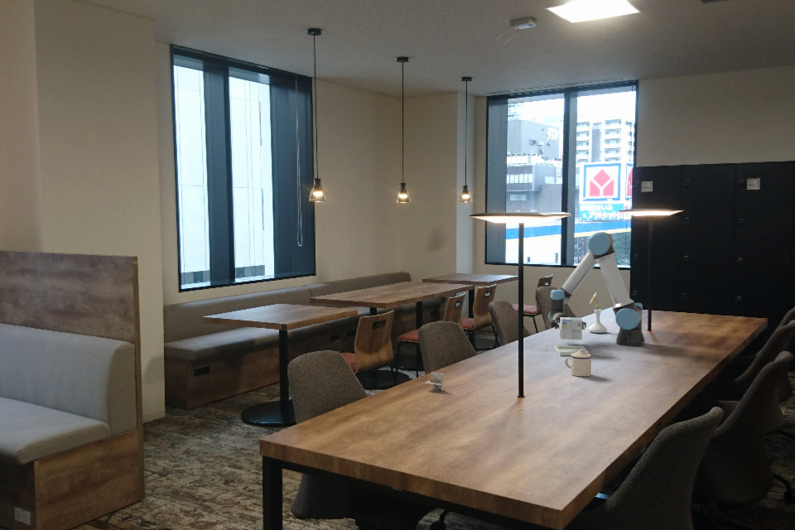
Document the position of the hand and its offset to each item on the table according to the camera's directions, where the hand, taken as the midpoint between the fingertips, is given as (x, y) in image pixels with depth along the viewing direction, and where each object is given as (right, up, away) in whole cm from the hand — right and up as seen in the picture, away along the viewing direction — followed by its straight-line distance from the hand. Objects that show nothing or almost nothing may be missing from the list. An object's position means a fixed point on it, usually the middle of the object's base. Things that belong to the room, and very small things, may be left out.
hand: (573, 327), depth 350 cm
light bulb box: (0, -6, +4) cm, 8 cm away
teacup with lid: (-9, -17, -44) cm, 48 cm away
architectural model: (-74, -20, -69) cm, 103 cm away
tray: (0, -14, +5) cm, 14 cm away
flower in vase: (+31, -9, +65) cm, 73 cm away
